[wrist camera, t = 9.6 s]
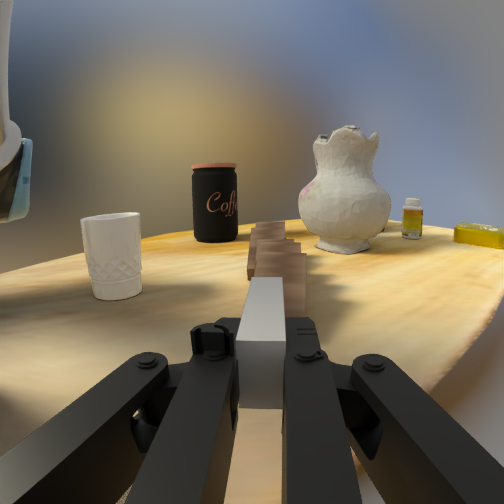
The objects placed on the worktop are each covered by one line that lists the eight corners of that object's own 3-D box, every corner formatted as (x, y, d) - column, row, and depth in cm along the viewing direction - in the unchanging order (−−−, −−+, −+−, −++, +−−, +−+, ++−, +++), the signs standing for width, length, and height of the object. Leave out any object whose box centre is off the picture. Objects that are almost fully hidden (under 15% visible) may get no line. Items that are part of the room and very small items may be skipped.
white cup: (127, 280, 44) (120, 212, 42) (158, 290, 39) (152, 213, 37) (80, 293, 38) (71, 219, 35) (106, 307, 33) (95, 221, 31)
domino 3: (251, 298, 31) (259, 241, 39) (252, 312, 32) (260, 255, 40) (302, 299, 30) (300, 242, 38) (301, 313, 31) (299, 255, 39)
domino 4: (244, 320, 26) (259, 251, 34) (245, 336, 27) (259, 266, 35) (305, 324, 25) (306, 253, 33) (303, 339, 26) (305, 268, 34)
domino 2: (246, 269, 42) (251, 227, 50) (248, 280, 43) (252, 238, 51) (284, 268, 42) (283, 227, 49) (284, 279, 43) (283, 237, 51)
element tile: (504, 243, 68) (505, 226, 67) (503, 251, 58) (505, 231, 57) (460, 236, 78) (461, 220, 77) (451, 242, 69) (453, 224, 68)
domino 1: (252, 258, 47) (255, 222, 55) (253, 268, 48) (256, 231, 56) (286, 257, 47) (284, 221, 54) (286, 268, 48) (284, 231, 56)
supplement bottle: (423, 240, 71) (425, 199, 68) (403, 239, 72) (405, 198, 70) (419, 236, 76) (420, 198, 74) (399, 235, 77) (401, 197, 75)
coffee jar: (207, 245, 69) (205, 162, 65) (186, 239, 77) (183, 166, 73) (247, 239, 75) (245, 163, 71) (222, 234, 83) (220, 165, 79)
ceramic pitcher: (276, 247, 70) (267, 134, 64) (339, 233, 79) (333, 136, 73) (346, 269, 52) (338, 119, 46) (407, 247, 61) (404, 128, 54)
